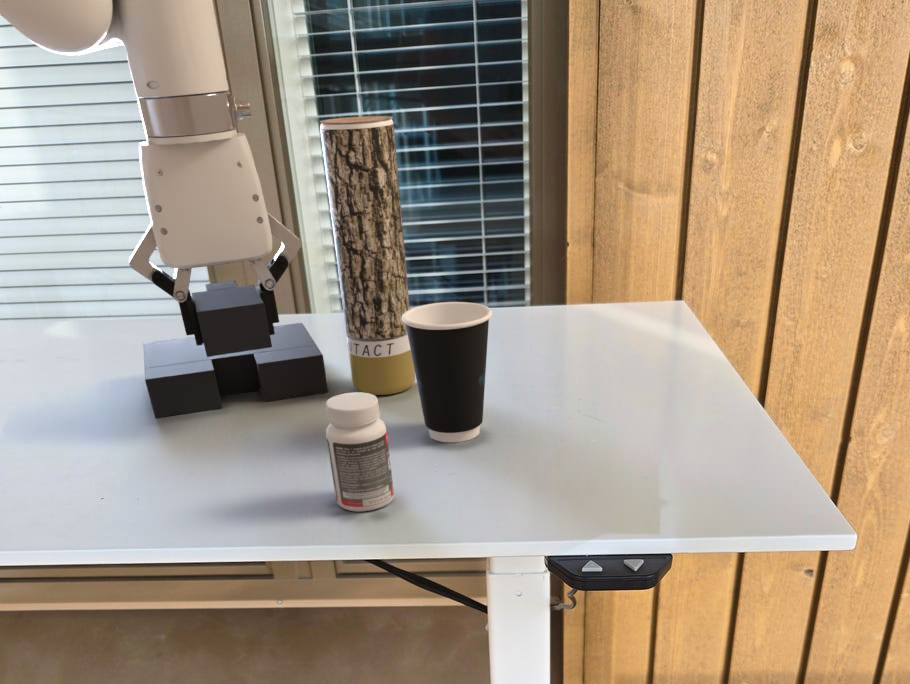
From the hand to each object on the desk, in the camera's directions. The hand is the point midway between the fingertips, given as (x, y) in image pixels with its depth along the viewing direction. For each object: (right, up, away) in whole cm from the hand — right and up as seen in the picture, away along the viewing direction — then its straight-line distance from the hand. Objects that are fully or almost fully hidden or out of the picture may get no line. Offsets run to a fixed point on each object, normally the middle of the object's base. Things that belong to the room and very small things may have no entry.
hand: (234, 334), depth 85 cm
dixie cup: (+21, -10, -1) cm, 23 cm away
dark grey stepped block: (0, 0, +1) cm, 2 cm away
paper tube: (+13, -2, +11) cm, 17 cm away
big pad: (-3, -1, +14) cm, 14 cm away
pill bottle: (+14, -18, -12) cm, 26 cm away
